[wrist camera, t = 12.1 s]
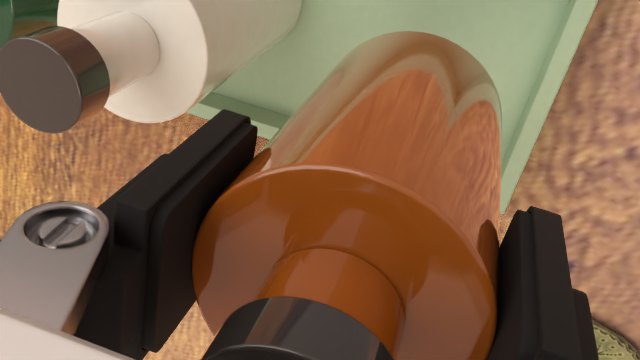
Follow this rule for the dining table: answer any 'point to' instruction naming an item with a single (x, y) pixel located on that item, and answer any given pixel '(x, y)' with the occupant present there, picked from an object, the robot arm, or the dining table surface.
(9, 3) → the green glass bottle
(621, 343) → the medallion
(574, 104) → the dining table surface
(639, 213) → the dining table surface
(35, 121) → the frosted bottle
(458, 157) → the amber bottle
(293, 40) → the tray
